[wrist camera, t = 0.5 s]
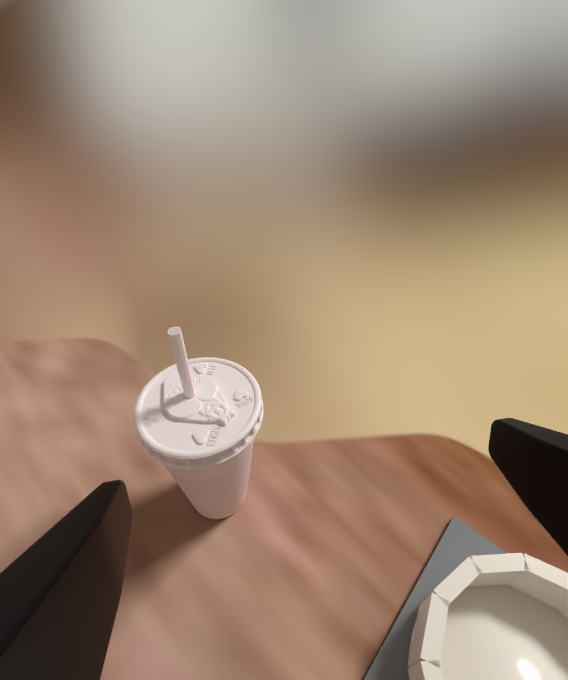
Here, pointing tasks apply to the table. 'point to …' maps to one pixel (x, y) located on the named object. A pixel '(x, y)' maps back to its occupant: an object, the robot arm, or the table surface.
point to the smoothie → (202, 427)
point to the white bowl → (493, 622)
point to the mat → (453, 548)
